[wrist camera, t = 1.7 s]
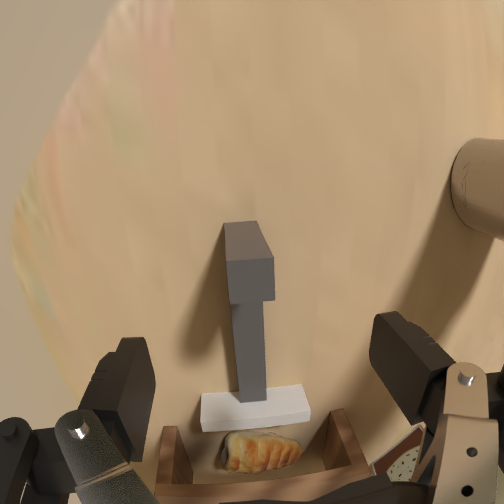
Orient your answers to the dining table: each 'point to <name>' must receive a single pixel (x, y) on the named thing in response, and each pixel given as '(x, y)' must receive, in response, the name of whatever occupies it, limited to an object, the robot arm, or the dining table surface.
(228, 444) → the pastry
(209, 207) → the dining table surface
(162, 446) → the low shelf
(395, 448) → the food container
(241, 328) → the scraper
